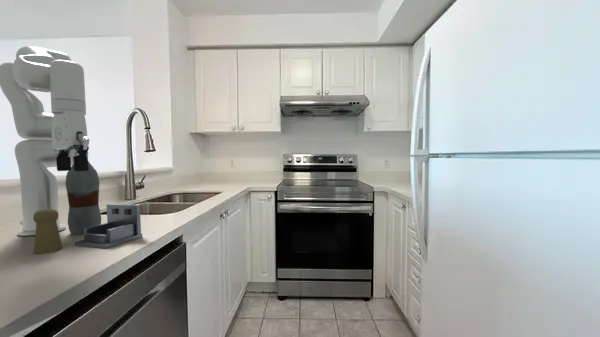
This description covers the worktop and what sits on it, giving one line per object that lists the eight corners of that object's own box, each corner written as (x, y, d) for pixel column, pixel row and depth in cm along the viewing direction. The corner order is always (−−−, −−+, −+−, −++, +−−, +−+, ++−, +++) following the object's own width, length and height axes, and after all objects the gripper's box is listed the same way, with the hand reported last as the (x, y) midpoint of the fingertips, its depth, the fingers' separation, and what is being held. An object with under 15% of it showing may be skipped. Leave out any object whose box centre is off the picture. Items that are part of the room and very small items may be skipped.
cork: (45, 254, 78) (43, 212, 77) (27, 253, 79) (24, 211, 78) (68, 247, 84) (65, 208, 83) (50, 246, 85) (48, 207, 84)
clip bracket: (74, 245, 85) (73, 210, 85) (112, 234, 97) (111, 203, 96) (107, 248, 82) (105, 211, 81) (142, 236, 93) (140, 204, 93)
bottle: (60, 235, 97) (55, 142, 96) (81, 228, 106) (77, 143, 105) (89, 235, 97) (84, 142, 95) (108, 228, 106) (103, 143, 105)
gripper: (38, 109, 83) (42, 171, 84) (68, 103, 74) (71, 171, 75) (69, 112, 89) (73, 170, 90) (100, 107, 81) (103, 170, 81)
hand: (72, 170), depth 83 cm, fingers open, 9 cm apart
